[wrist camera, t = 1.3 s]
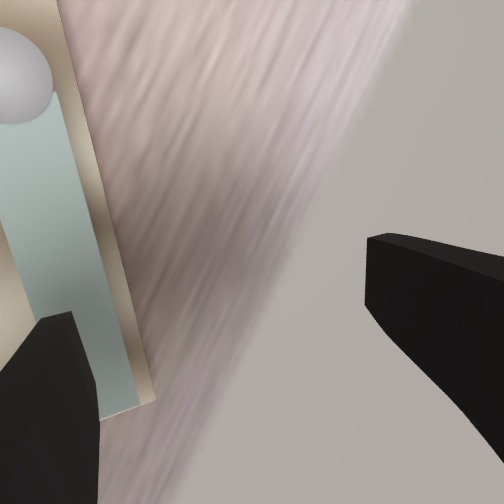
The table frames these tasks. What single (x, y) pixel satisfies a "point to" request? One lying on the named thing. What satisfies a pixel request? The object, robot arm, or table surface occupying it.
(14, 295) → the stool seat
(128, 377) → the stool leg
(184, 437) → the table surface
